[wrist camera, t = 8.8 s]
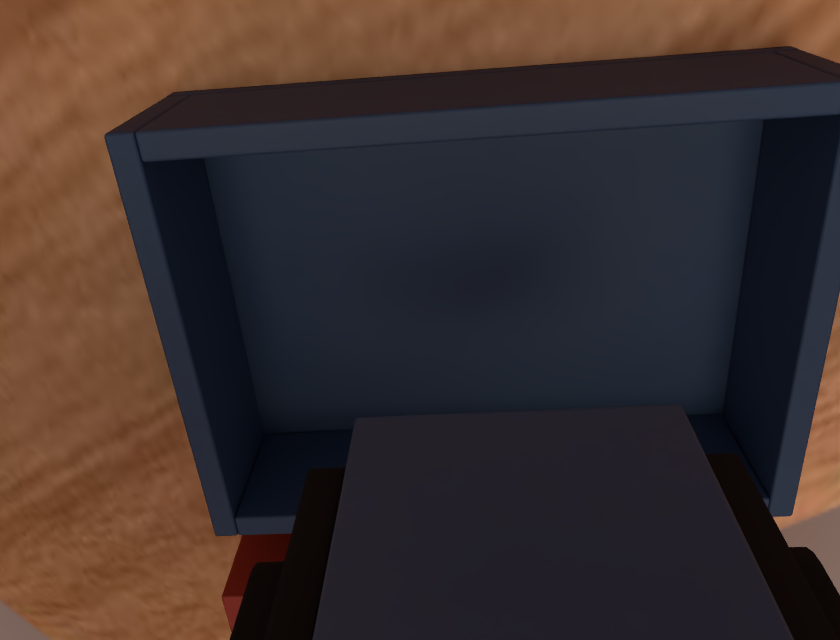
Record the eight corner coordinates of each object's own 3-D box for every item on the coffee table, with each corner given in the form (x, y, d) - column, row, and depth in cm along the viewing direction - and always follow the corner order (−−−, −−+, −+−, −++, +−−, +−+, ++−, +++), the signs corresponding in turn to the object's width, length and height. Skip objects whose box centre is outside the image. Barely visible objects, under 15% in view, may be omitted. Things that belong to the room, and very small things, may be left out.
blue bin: (251, 440, 22) (214, 537, 19) (172, 92, 17) (101, 133, 14) (735, 419, 21) (792, 517, 18) (792, 45, 16) (886, 78, 13)
